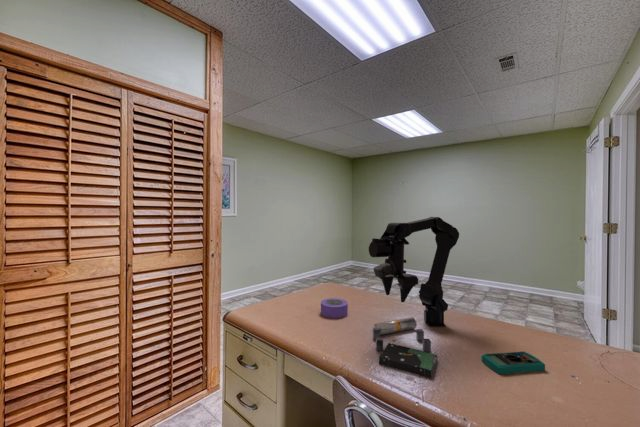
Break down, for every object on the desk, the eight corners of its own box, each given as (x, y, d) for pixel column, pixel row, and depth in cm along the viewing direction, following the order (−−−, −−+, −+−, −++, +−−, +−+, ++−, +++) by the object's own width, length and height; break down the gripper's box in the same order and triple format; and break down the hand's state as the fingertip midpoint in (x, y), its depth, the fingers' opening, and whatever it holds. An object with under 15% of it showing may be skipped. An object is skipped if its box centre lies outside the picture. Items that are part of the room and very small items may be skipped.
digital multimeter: (547, 372, 78) (547, 362, 78) (499, 376, 76) (499, 365, 76) (525, 359, 85) (525, 349, 85) (480, 362, 84) (480, 352, 84)
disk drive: (378, 366, 82) (432, 380, 75) (378, 356, 82) (432, 370, 75) (388, 351, 91) (437, 362, 84) (388, 342, 91) (437, 353, 84)
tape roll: (352, 312, 125) (352, 300, 125) (339, 320, 115) (339, 308, 115) (329, 307, 131) (329, 296, 131) (315, 315, 121) (315, 303, 121)
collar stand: (422, 338, 98) (422, 328, 98) (431, 352, 88) (431, 341, 88) (372, 337, 99) (372, 327, 99) (376, 351, 89) (376, 340, 89)
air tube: (409, 325, 109) (409, 315, 109) (416, 330, 105) (416, 319, 105) (373, 332, 103) (374, 321, 103) (380, 337, 99) (380, 326, 99)
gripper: (364, 253, 110) (363, 293, 110) (392, 261, 93) (391, 308, 93) (388, 252, 114) (387, 291, 114) (419, 260, 97) (418, 305, 97)
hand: (394, 298), depth 104 cm, fingers open, 9 cm apart
